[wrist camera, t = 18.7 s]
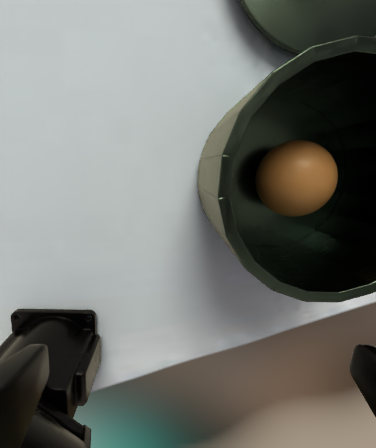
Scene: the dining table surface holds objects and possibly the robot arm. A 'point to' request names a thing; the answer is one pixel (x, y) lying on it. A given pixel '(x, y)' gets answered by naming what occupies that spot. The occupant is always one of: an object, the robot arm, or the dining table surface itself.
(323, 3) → the bin lid
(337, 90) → the bin
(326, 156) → the brown egg
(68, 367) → the robot arm
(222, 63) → the dining table surface
